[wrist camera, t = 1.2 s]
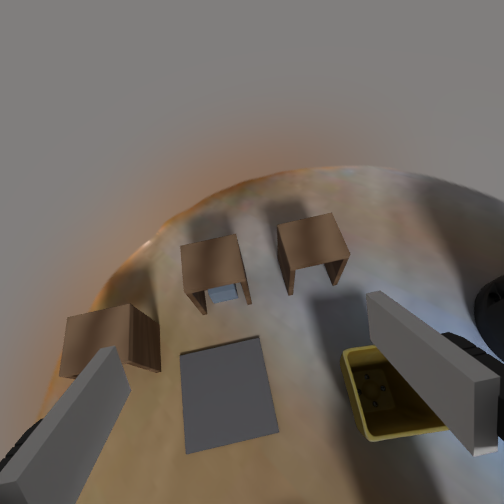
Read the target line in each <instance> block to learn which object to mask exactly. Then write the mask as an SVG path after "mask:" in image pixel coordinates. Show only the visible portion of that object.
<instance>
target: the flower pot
mask: <svg viewBox="0 0 504 504" xmlns="http://www.w3.org/2000/svg"><path fill="white" fill-rule="evenodd" d="M340 367H341V370H342V374H343V377H344V381H345V384H346V388H347V392H348V396H349V399H350V403H351V407H352V411H353V415H354V419H355V423H356V426H357V428H358V430H359V431H360V432H361V433H362V435H363V436H364V437H365V438H366V439H367V440H369V441H370V442H375V441H381V440H387V439H393V438H399V437H405V436H412V435H419V434H425V433H432V432H439V431H446V430H450V429H449V428H448V427H447V426H446V425H445V424H444V423H443V422H442V420H441V419H440V418H439V417H438V416H437V415H436V414H435V413H434V411H433V410H432V409H431V408H430V407H429V406H428V405H427V404H426V402H425V401H424V400H423V399H422V398H421V397H420V396H419V395H418V393H417V392H416V391H415V390H414V389H413V388H412V387H411V385H410V384H409V383H408V382H407V381H406V380H405V379H404V378H403V376H402V375H401V374H400V373H399V372H398V371H397V370H396V369H395V367H394V366H393V365H392V364H391V363H390V362H389V361H388V360H387V358H386V357H385V356H384V355H383V354H382V353H381V352H380V351H379V349H378V348H377V347H376V346H375V345H369V346H361V347H354V348H348V349H345V350H343V353H342V356H341V359H340ZM365 375H368V376H369V379H365ZM381 386H383V387H385V390H384V391H382V390H381ZM357 390H360V391H361V394H360V395H359V394H358V392H357ZM373 402H376V403H377V406H376V407H375V406H374V405H373Z"/></svg>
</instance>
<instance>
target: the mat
mask: <svg viewBox="0 0 504 504" xmlns="http://www.w3.org/2000/svg"><path fill="white" fill-rule="evenodd" d="M180 370H181V386H182V401H183V417H184V432H185V448H186V454H190V453H194V452H199V451H203V450H207V449H211V448H215V447H219V446H224V445H228V444H232V443H236V442H240V441H245V440H249V439H253V438H257V437H261V436H266V435H270V434H274V433H278V432H279V429H278V424H277V419H276V414H275V410H274V405H273V400H272V396H271V391H270V386H269V382H268V377H267V372H266V367H265V363H264V358H263V353H262V349H261V344H260V339H259V338H255V339H251V340H247V341H242V342H238V343H233V344H229V345H225V346H220V347H216V348H212V349H207V350H203V351H199V352H194V353H190V354H186V355H181V356H180Z"/></svg>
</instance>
